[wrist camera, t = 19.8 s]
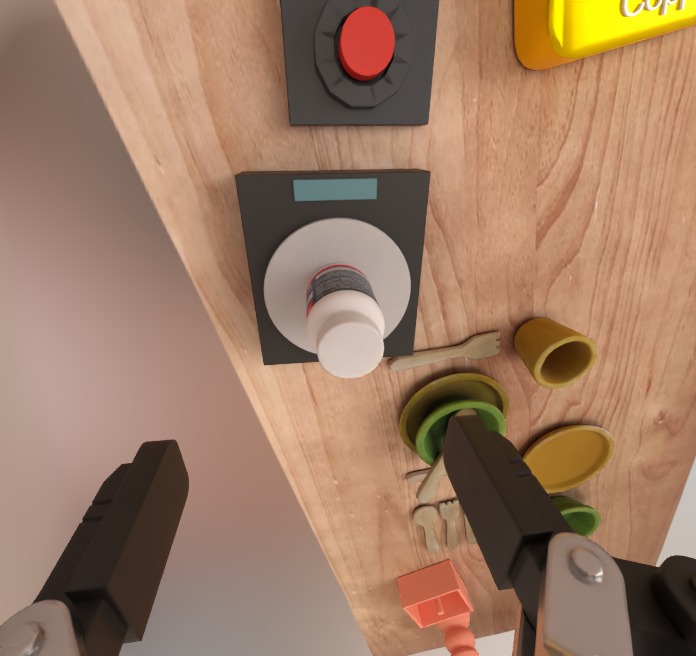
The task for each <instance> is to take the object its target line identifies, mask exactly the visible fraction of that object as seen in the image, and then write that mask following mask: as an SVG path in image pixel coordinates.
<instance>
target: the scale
mask: <svg viewBox="0 0 696 656" xmlns="http://www.w3.org/2000/svg"><path fill="white" fill-rule="evenodd" d="M235 180H236V186H237V193H238V199H239V206H240V212H241V219H242V226H243V232H244V239H245V245H246V252H247V258H248V265H249V271H250V278H251V284H252V291H253V297H254V304H255V310H256V317H257V324H258V330H259V337H260V343H261V350H262V356H263V363H264V365H276V364H291V363H306V362H319V359H318V355H317V352H316V351H315V349H314V348H313V347H312V345H311V343H310V341H309V339H308V336H307V330H306V292H307V286H308V283H309V281H310V279H311V278H312V276H313V275H314V274H315V273H316V272H317V271H318V270H320V269H321V268H323V267H325V266H327V265H330V264H334V263H345V264H349V265H352V266H354V267H356V268H358V269H359V270H361V271H362V272H363V273H364V275H365V276H366V277H367V279H368V281H369V283H370V286H371V288H372V291H373V293H374V296H375V298H376V300H377V302H378V304H379V306H380V309H381V311H382V314H383V317H384V322H385V330H384V335H383V338H382V339H383V343H384V353H383V357H397V356H412V355H413V348H414V337H415V327H416V317H417V306H418V296H419V286H420V275H421V265H422V255H423V245H424V234H425V224H426V214H427V203H428V193H429V183H430V171H426V170H421V169H381V170H322V171H262V172H241V173H239V174H236V175H235Z"/></svg>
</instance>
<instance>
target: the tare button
mask: <svg viewBox="0 0 696 656" xmlns="http://www.w3.org/2000/svg"><path fill="white" fill-rule="evenodd" d="M394 45H395V37H394V31H393V27H392V25H391V22H390V20H389V19H388V17H387V16H386V15H385V14H384V13H383V12H382V11H381V10H379V9H377V8H375V7H371V6H364V7H360V8H358V9H356V10H355V11H353V12H352V13H351V14H350V15H349V17H348V18H347V19H346V21H345V23H344V26H343V28H342V32H341V35H340V39H339V44H338V53H339V58H340V62H341V64H342V66H343V68H344V70H345V71H346V72H347V73H348V74H349V75H350V76H351V77H352V78H354V79H356V80H360V81H367V80H371V79H373V78H375V77H376V76H377V75H379V74H380V73H381V72H382V71H383V70H384V68H385V67H386V66H387V65H388V63H389V62H390V60H391V58H392V55H393V51H394Z"/></svg>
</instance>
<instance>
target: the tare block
mask: <svg viewBox="0 0 696 656" xmlns="http://www.w3.org/2000/svg"><path fill="white" fill-rule="evenodd" d="M280 4H281V17H282V30H283V42H284V55H285V68H286V81H287V94H288V107H289V120H290V125H291V126H421V125H427V124H428V119H429V108H430V97H431V86H432V74H433V63H434V52H435V40H436V29H437V18H438V6H439V0H280ZM364 6H371V7H375V8H377V9H379V10H381V11H382V12H383V13H384V14H385V15H386V16H387V17H388V19H389V20H390V22H391V25H392V27H393V31H394V37H395V45H394V51H393V55H392V58H391V60H390V62H389V63H388V65H387V66H386V67H385V68H384V70H383V71H382V72H381V73H380V74H379V75H377V76H376V77H375V78H373V79H371V80H367V81H360V80H356V79H354V78H352V77H351V76H350V75H349V74H348V73H347V72H346V71H345V70H344V68H343V66H342V64H341V62H340V58H339V53H338V44H339V39H340V35H341V32H342V28H343V26H344V23H345V21H346V19H347V18H348V17H349V15H350V14H351V13H352V12H353V11H355V10H356V9H358V8H360V7H364Z"/></svg>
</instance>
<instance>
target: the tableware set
mask: <svg viewBox="0 0 696 656" xmlns="http://www.w3.org/2000/svg"><path fill="white" fill-rule="evenodd" d="M499 338H500V332H491V333H485V334H480V335H475V336H473V337H471V338H470V339H469V340H467V341H466V342H465V343H463V344H461V345H459V346H454V347H447V348H440V349H434V350H427V351H419V352H413V355H412V356H397V357H394V358H393V359H391V360H390V361H389V363H388V364H389V367H390V369H391V370H393V371H401V370H405V369H409V368H414V367H418V366H422V365H426V364H430V363H435V362H439V361H443V360H448V359H452V358H456V357H467V358H470V359H472V360H478V359H482V358H486V357H490V356H493V355H496V354H498V353H499V348H498V347H496V346H499V344H500V342H499V340H496V339H499ZM514 347H515V349H516V351H517V352H518V354H519V356H520V357H521V359H522V361H523V362H524V364H525V365H526V367H527V368H528V370H529V371H530V373H531V375H532V376H533V378H534V379H535V381H536V382H537V383H538V384H539V385H541V386H543V387H546V388H555V389H556V388H563V387H566V386H569V385H571V384H573V383H575V382H577V381H578V380H580V379H581V378H582V377H583V376H585V375H586V374H587V373H588V372H589V370H590V369H591V368H592V366H593V365H594V363H595V361H596V359H597V347H596V344H595V342H594V341H593V340H592V339H591V338H589V337H587V336H585V335H582V334H580V333H578V332H576V331H574V330H572V329H570V328H568V327H565V326H563V325H561V324H559V323H557V322H555V321H553V320H550V319H547V318H535V319H532V320H530V321H528V322H526V323H525V324H524V325H523V326H522V327H521V328H520V329H519V330H518V331H517V333H516V335H515V338H514ZM508 411H509V400H508V396H507V394H506V391H505V390H504V388H503V387H502V386H501V385H500V384H499V383H498V382H497V381H495V380H494V379H492V378H490V377H488V376H485V375H481V374H476V373H457V374H451V375H448V376H444V377H441V378H439V379H436V380H434V381H432V382H430V383H428V384H427V385H425V386H424V387H423V388H421V389H420V390H419V391H418V392H416V393H415V394H414V395H413V396H412V397H411V398H410V400H409V401H408V403H407V404H406V406H405V408H404V409H403V412H402V414H401V418H400V423H399V429H400V435H401V437H402V439H403V441H404V443H405V444H406V445H407V446H408V447H409V448H410V449H411V450H413V451H414V452H416V453H418V455H419V456H420V458H421V459H422V460H423V461H424V462H426V463H427V464H429V465H431V466H432V467H431V468H430V469H428V470H423V471H418V472H413V473H410V474H408V475H407V477H406V478H407V482H408V483H410V484H413V483H418V482H422V483H421V485H420V486H419V488H418V490H417V493H416V498H417V499H418V501H419V502H420V503H427V502H429V501H430V499H431V498H432V497H433V495H434V493H435V491H436V489H437V487H438V485H439V483H440V480H441V478H442V477H443V476H447V472H446V470H445V466H444V462H443V448H444V443H445V438H446V433H447V428H448V423H449V419H450V417H452V416H461V415H473V414H476V415H478V416H479V417H480V419H481V420H482V422H483V423H484V425H485V426H486V428H487V429H488V431H495V430H496V431H498V432H499V433H500V434H501V435H503V436H504V435H505V431H506V421H505V420H506V418H507V415H508ZM613 451H614V440H613V437H612V436H611V434H610V433H609V432H608V431H606V430H605V429H602V428H600V427H596V426H591V425H571V426H565V427H562V428H559V429H556V430H553V431H551V432H549V433H547V434H545V435H544V436H542V437H541V438H539V439H538V440H537V441H535V442H534V443H533V444H532V445H531V446H530V447H529V448H528V450H527V451H526V452H525V454H524V456H523V461H524V462H526V464H527V465H528V467H529V468H530V469H531V471H532V474H533V475H535V477H536V478H537V479H538V481H539V482H540V484H541V485H542V487H543V488H544V489H545V491H546V492H547V493H556V492H561V491H565V490H568V489H572V488H574V487H576V486H579V485H581V484H583V483H585V482H586V481H588V480H590V479H591V478H593V477H594V476H595V475H596V474H598V473H599V472H600V471H601V470H602V469H603V468H604V467H605V466H606V465H607V463H608V462H609V460H610V459H611V457H612V455H613ZM551 499H552V501H553V502H554V504H555V505H556V506H557V508H558V509H559V511H560V512H561V514H562V515H563V516H564V518H565V519H566V521H567V522H568V524H569V525H570V526H571V528H572V529H573V530H574V531H575V532H576V533H577V534H579V535H582V536H584V537H586V538H587V537H589V536H590V535H591V534H592V533H593V532H594V531H595V530H596V529H597V528H598V526H599V524H600V521H601V517H600V514H599V512H598V511H597V510H595V509H594V508H592V507H590V506H587V505H583V504H581V503H579V502H577V501H575V500H573V499H571V498H569V497H564V496H559V497H554V498H551ZM439 513H440V516H441V518H443V519H445V520H446V544H447V547H448V549H455V548H457V546H458V542H457V535H456V528H455V521H454V520H455V518H456V517H457V516H458V514H459V513H460V507H459V501H458V500H457V499H456V500H453V502H451V501H448V502H447V504H445V503H440V504H439ZM463 513H464V511H463ZM437 516H438V513H437V510H436V508H435V507H432V506H423V507H420V508H418V509H417V510H416V511H415V512H414V513H413V519H414V521H415V523H417V524H419V525H421V526H423V527H424V533H425V540H426V547H427V550H428V552H429V553H431V554H432V553H437V552H438V551H439V546H438V542H437V539H436V536H435V533H434V530H433V526H432V525H433V522H434V521H435V520H436V519H437ZM464 522H465V532H466V539H467V542H468V543H469V544H474V543H476V541H477V540H476V538H475V536H474V534H473V531H472V529H471V527H470V525H469V522H468V520H467V518H466V515H465V513H464Z"/></svg>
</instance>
